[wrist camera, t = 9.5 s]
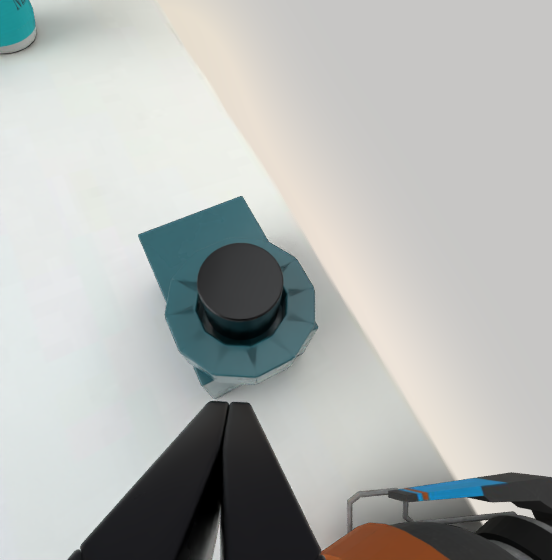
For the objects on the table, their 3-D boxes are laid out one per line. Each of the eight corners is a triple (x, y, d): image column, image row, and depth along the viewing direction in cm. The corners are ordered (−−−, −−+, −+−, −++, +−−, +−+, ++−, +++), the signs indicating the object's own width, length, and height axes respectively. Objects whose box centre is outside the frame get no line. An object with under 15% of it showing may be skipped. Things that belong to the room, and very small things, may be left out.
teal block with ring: (313, 366, 20) (342, 333, 14) (218, 417, 19) (201, 406, 12) (246, 243, 23) (244, 170, 17) (159, 279, 22) (121, 213, 15)
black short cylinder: (291, 320, 14) (299, 298, 12) (223, 353, 14) (217, 336, 11) (258, 261, 15) (260, 229, 13) (193, 289, 15) (182, 261, 12)
